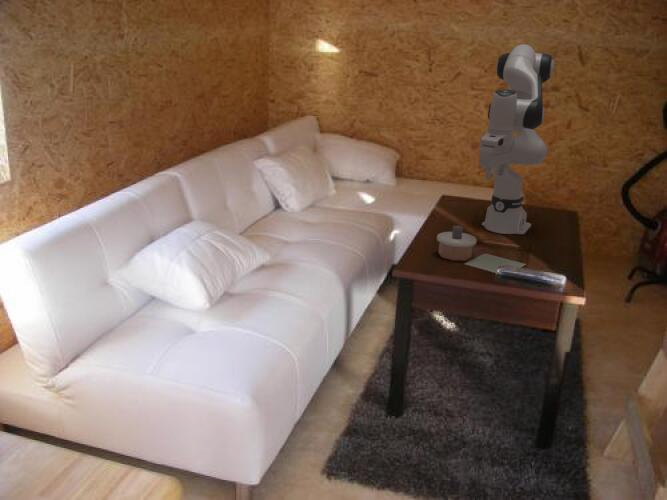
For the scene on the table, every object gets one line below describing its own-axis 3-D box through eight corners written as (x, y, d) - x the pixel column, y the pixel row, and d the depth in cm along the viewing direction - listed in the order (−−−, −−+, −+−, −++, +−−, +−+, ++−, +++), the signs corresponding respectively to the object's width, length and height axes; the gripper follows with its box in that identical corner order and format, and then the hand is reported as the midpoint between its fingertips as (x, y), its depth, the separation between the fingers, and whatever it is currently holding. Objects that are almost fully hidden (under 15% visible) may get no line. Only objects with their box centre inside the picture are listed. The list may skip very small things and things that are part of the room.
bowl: (448, 249, 242) (450, 234, 240) (475, 256, 235) (477, 241, 233) (433, 256, 234) (435, 240, 232) (460, 264, 227) (462, 247, 225)
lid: (448, 232, 242) (450, 219, 240) (483, 241, 234) (484, 227, 232) (429, 240, 231) (431, 226, 230) (464, 249, 223) (466, 235, 221)
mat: (484, 254, 238) (485, 253, 237) (526, 265, 228) (526, 264, 228) (463, 265, 226) (464, 263, 226) (506, 277, 216) (506, 275, 216)
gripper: (504, 134, 233) (499, 171, 238) (477, 139, 218) (473, 179, 223) (520, 136, 229) (515, 174, 234) (495, 142, 214) (489, 183, 219)
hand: (494, 177), depth 228 cm, fingers open, 8 cm apart
